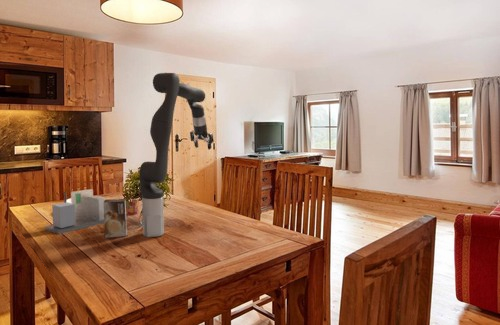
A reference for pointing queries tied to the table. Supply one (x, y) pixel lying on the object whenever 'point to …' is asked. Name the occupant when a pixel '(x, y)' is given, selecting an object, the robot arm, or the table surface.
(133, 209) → the smoothie
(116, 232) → the coffee box
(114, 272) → the table surface
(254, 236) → the table surface
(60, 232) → the stand
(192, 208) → the table surface
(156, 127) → the robot arm
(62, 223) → the grey box
